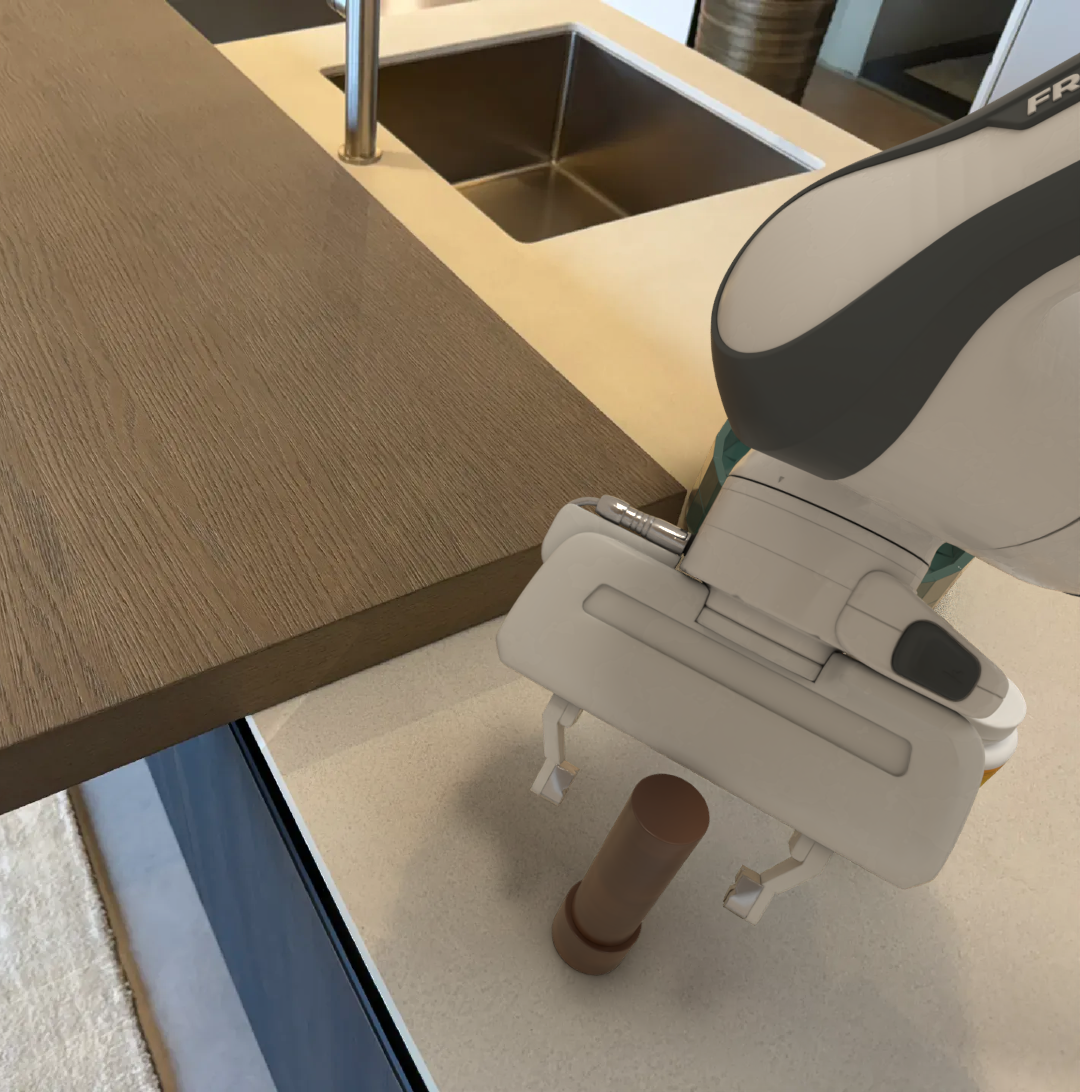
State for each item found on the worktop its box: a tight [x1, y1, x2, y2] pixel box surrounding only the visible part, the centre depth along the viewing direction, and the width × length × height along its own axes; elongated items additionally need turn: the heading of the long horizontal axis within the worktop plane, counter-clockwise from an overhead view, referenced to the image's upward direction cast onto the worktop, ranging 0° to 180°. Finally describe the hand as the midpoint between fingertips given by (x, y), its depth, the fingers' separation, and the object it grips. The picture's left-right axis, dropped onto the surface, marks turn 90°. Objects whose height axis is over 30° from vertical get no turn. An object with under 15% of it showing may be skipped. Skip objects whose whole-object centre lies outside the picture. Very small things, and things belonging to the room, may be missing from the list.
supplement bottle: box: [959, 676, 1027, 789], centre depth 56 cm, size 6×6×10 cm
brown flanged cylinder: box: [551, 773, 711, 976], centre depth 47 cm, size 4×4×14 cm
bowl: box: [685, 418, 976, 611], centre depth 69 cm, size 17×17×6 cm
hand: (638, 853), depth 46 cm, fingers open, 8 cm apart
